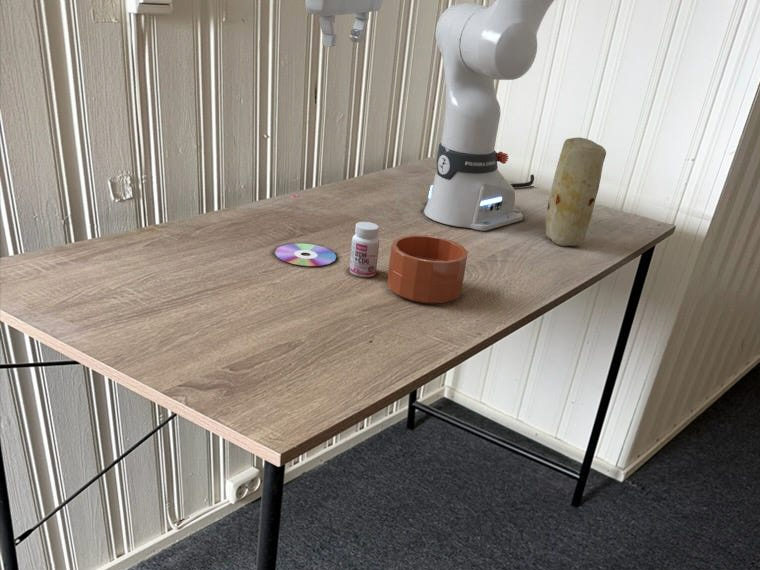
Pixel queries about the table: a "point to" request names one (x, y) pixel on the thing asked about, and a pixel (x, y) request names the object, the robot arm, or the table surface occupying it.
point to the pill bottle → (364, 250)
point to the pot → (426, 268)
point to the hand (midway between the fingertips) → (343, 44)
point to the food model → (574, 191)
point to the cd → (316, 258)
